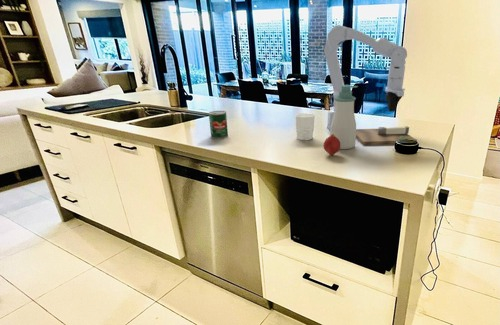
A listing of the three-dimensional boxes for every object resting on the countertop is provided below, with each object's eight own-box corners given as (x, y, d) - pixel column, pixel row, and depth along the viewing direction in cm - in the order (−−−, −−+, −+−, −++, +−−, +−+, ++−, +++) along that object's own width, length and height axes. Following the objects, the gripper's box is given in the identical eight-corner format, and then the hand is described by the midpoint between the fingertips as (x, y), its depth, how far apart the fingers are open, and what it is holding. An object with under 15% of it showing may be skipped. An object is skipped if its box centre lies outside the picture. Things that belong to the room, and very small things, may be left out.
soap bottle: (351, 151, 110) (356, 88, 101) (325, 148, 115) (328, 87, 106) (358, 144, 117) (363, 84, 109) (333, 141, 122) (336, 83, 114)
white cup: (315, 135, 130) (315, 113, 127) (312, 141, 123) (313, 117, 120) (297, 135, 133) (297, 112, 129) (293, 140, 126) (293, 116, 122)
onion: (321, 153, 110) (321, 132, 107) (336, 151, 110) (337, 130, 107) (326, 158, 104) (327, 136, 101) (342, 157, 105) (343, 135, 102)
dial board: (363, 145, 115) (363, 141, 115) (350, 132, 132) (351, 129, 132) (416, 143, 114) (417, 139, 113) (397, 131, 131) (397, 127, 130)
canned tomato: (220, 132, 142) (218, 109, 138) (231, 135, 137) (229, 111, 133) (207, 136, 137) (205, 113, 133) (218, 139, 132) (215, 115, 128)
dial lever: (379, 135, 121) (380, 128, 120) (376, 133, 124) (377, 126, 123) (409, 134, 120) (410, 127, 119) (405, 132, 123) (406, 126, 122)
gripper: (414, 79, 115) (408, 114, 120) (398, 75, 128) (394, 107, 133) (395, 80, 115) (390, 114, 120) (381, 76, 129) (378, 107, 134)
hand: (391, 111), depth 127 cm, fingers closed
